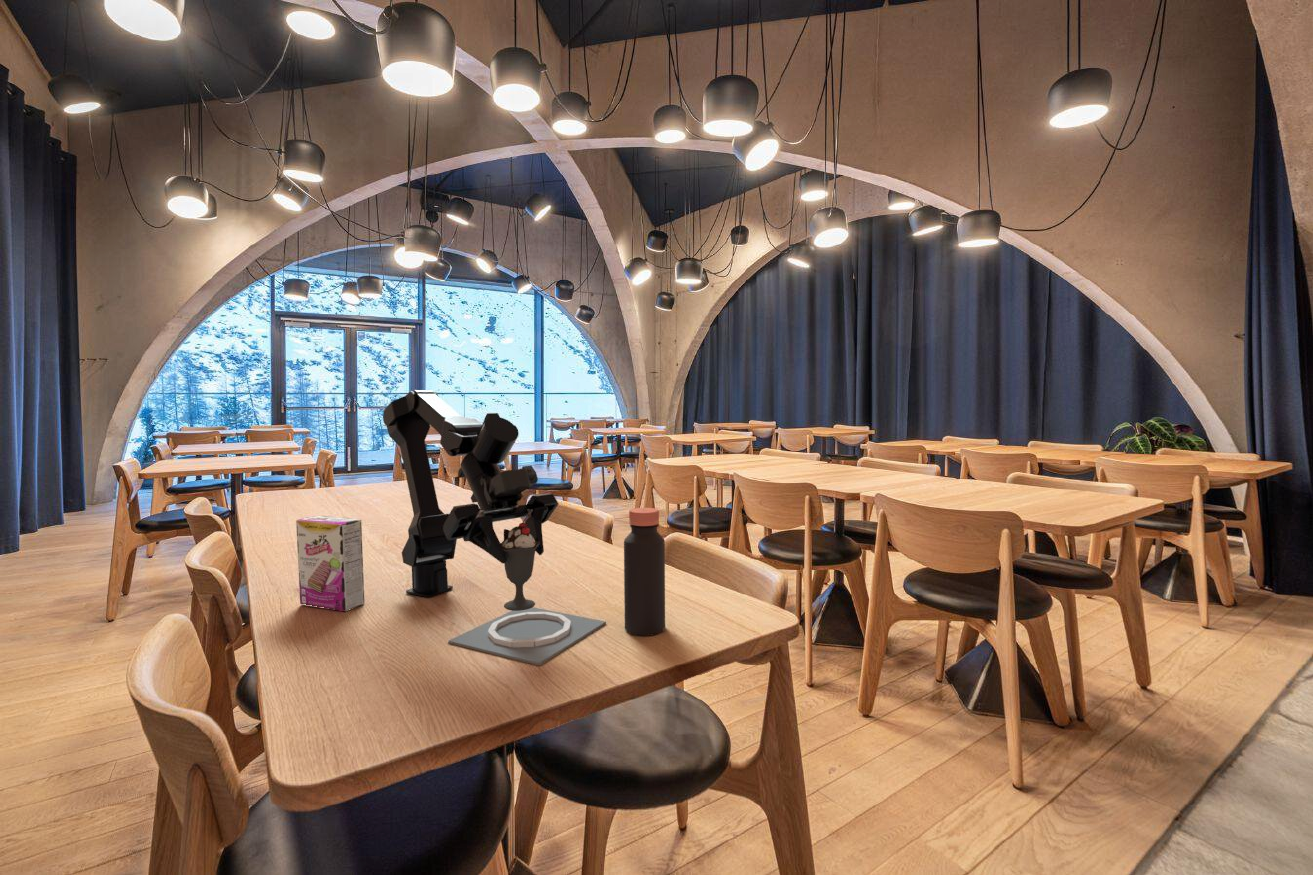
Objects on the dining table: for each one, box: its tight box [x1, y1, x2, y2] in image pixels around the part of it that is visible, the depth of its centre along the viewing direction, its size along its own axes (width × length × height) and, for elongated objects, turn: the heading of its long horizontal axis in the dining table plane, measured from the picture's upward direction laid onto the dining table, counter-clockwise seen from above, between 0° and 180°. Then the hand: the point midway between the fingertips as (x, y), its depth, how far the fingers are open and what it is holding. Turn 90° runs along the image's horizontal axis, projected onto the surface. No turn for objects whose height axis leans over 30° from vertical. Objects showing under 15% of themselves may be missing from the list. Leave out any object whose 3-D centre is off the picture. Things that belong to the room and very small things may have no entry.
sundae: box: [500, 514, 540, 611], centre depth 96 cm, size 7×7×15 cm
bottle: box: [623, 507, 666, 637], centre depth 99 cm, size 7×7×20 cm
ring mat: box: [447, 606, 607, 666], centre depth 98 cm, size 18×18×1 cm
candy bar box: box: [295, 515, 365, 612], centre depth 112 cm, size 11×5×16 cm, turn 71°
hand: (523, 557), depth 95 cm, fingers closed on sundae, 6 cm apart
